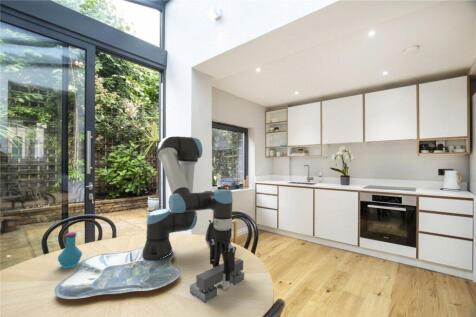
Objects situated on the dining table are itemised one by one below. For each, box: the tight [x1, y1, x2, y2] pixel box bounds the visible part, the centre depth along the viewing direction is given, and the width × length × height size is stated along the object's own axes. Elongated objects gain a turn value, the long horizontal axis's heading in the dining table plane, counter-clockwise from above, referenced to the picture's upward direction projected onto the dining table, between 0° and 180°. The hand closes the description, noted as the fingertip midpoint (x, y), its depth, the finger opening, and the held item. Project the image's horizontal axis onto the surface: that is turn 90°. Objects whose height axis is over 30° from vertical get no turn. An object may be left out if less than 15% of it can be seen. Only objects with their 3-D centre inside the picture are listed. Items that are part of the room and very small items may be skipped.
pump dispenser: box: [205, 219, 214, 247], centre depth 134 cm, size 10×10×15 cm
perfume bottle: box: [57, 231, 83, 269], centre depth 105 cm, size 9×9×15 cm
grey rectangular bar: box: [195, 256, 244, 293], centre depth 89 cm, size 4×22×8 cm, turn 138°
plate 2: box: [229, 270, 245, 286], centre depth 96 cm, size 9×6×3 cm, turn 48°
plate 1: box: [189, 281, 218, 304], centre depth 84 cm, size 9×6×3 cm, turn 48°
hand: (221, 285), depth 89 cm, fingers closed on grey rectangular bar, 4 cm apart
